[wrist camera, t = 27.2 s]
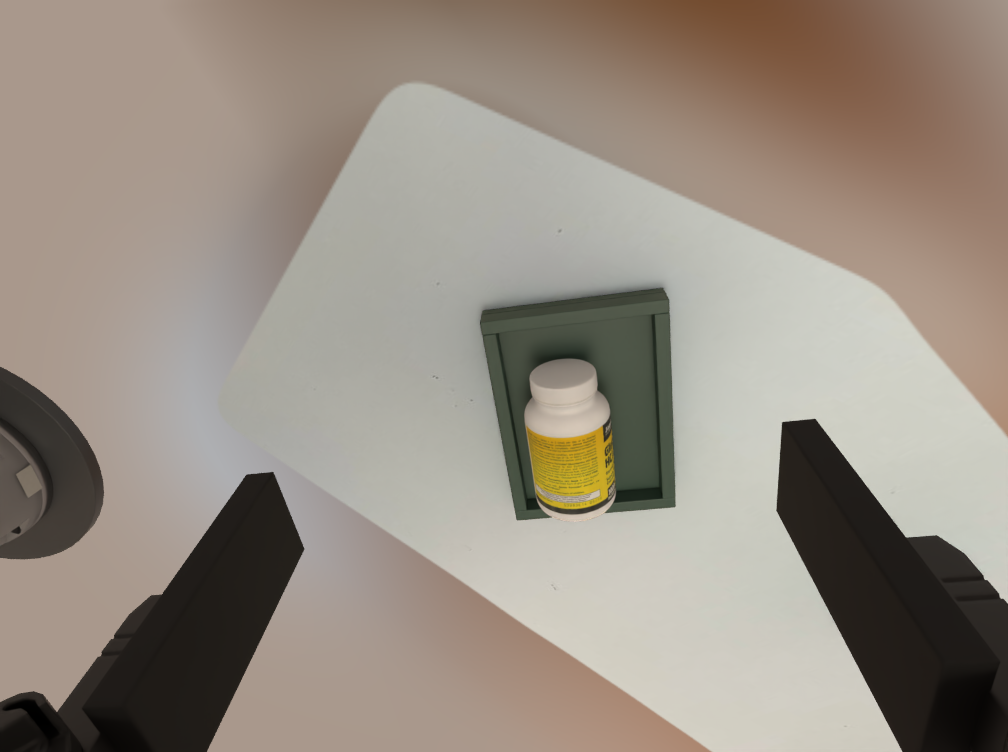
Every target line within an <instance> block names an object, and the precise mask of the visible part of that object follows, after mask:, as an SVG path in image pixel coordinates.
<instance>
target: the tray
mask: <svg viewBox="0 0 1008 752" xmlns="http://www.w3.org/2000/svg"><path fill="white" fill-rule="evenodd" d="M480 325H481V331H482V335H483V341H484V347H485V352H486V357H487V363H488V368H489V373H490V379H491V384H492V390H493V395H494V400H495V406H496V411H497V416H498V422H499V427H500V433H501V438H502V443H503V449H504V454H505V459H506V465H507V470H508V476H509V481H510V486H511V492H512V497H513V502H514V508H515V513H516V519H517V520H528V519H540V518H552V517H551V516H549V515H548V514H546V513H545V512H544V511H543V510H542V509H541V507H540V506H539V504H538V501H537V498H536V492H535V487H534V480H533V473H532V466H531V460H530V453H529V446H528V440H527V433H526V427H525V418H524V413H525V408H526V406H527V404H528V402H529V401H530V399H531V398H532V393H531V388H530V380H529V378H530V374H531V372H532V371H533V370H534V369H535V368H536V367H538V366H539V365H541V364H543V363H546V362H549V361H552V360H557V359H579V360H583V361H586V362H588V363H590V364H592V365H593V366H594V368H595V369H596V374H597V383H598V386H597V391H599V392H600V393H602V394H603V395H604V397H605V398H606V399H607V401H608V404H609V408H610V416H611V425H612V443H613V456H614V470H615V483H616V496H615V499H614V502H613V503H612V505H611V506H610V508H609V509H608V510H607V511H606V512H605V513H611V512H623V511H635V510H647V509H659V508H671V507H675V506H676V505H675V472H674V440H673V408H672V376H671V344H670V313H669V299H668V297H667V295H666V293H665V291H664V289H663V288H659V289H651V290H643V291H635V292H627V293H620V294H612V295H604V296H596V297H588V298H580V299H572V300H564V301H556V302H548V303H540V304H532V305H524V306H516V307H508V308H500V309H493V310H485V311H483V312H482V317H481V321H480Z"/></svg>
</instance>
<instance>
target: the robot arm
mask: <svg viewBox="0 0 1008 752" xmlns="http://www.w3.org/2000/svg"><path fill="white" fill-rule="evenodd" d="M52 498H53V486H52V480H51V477H50V474H49V471H48V469H47V466H46V465H45V463H44V461H43V459H42V458H41V456H40V454H39V453H38V452H37V450H36V449H35V448H34V446H33V445H32V444H31V443H30V442H29V441H28V440H27V439H26V438H25V437H24V436H23V435H22V434H21V433H20V432H19V431H18V430H17V429H15V428H14V427H13V426H12V425H10V424H9V423H8V422H6V421H5V420H3V419H2V418H0V546H1V545H3V544H4V543H7V542H9V541H11V540H13V539H15V538H17V537H19V536H20V535H22V534H23V533H25V532H26V531H27V530H29V529H30V528H31V527H33V526H34V525H35V524H36V523H37V522H38V521H39V520H40V519H41V518H42V517H43V516H44V515H45V514H46V513H47V511H48V509H49V508H50V505H51V502H52ZM776 511H777V512H778V514H779V516H780V518H781V520H782V522H783V524H784V526H785V528H786V530H787V532H788V533H789V535H790V537H791V539H792V541H793V543H794V545H795V547H796V549H797V551H798V553H799V555H800V556H801V558H802V560H803V562H804V564H805V566H806V568H807V570H808V572H809V574H810V576H811V577H812V579H813V581H814V583H815V585H816V587H817V589H818V591H819V593H820V595H821V597H822V599H823V600H824V602H825V604H826V606H827V608H828V610H829V612H830V614H831V616H832V618H833V620H834V621H835V623H836V625H837V627H838V629H839V631H840V633H841V635H842V637H843V639H844V641H845V643H846V644H847V646H848V648H849V650H850V652H851V654H852V656H853V658H854V660H855V662H856V664H857V665H858V667H859V669H860V671H861V673H862V675H863V677H864V679H865V681H866V683H867V685H868V686H869V688H870V690H871V692H872V694H873V696H874V698H875V700H876V702H877V704H878V706H879V708H880V709H881V711H882V713H883V715H884V717H885V719H886V721H887V723H888V725H889V727H890V729H891V730H892V732H893V734H894V736H895V738H896V740H897V742H898V744H899V746H900V748H901V750H902V752H1008V604H1007V603H1006V601H1005V600H1004V599H1001V598H1000V596H999V593H998V592H997V591H996V590H995V589H994V587H993V586H992V585H991V584H990V583H989V582H988V580H984V576H983V575H982V573H981V572H980V571H979V570H978V569H977V568H976V566H975V565H974V564H973V563H972V562H971V561H970V559H969V558H968V557H967V556H966V555H965V554H964V553H963V552H961V551H960V550H958V549H957V548H955V547H954V546H952V545H951V544H949V543H948V542H946V541H945V540H943V539H942V538H940V537H939V536H937V535H936V536H923V537H909V538H906V537H905V536H904V534H903V533H902V532H901V530H900V529H899V528H898V527H897V525H896V524H895V523H894V521H893V520H892V519H891V517H890V516H889V515H888V513H887V512H886V511H885V510H884V508H883V507H882V506H881V504H880V503H879V502H878V500H877V499H876V498H875V496H874V495H873V494H872V493H871V491H870V490H869V489H868V487H867V486H866V485H865V483H864V482H863V481H862V479H861V478H860V477H859V475H858V474H857V473H856V472H855V470H854V469H853V468H852V466H851V465H850V464H849V462H848V461H847V460H846V458H845V457H844V456H843V455H842V453H841V452H840V451H839V449H838V448H837V447H836V445H835V444H834V443H833V441H832V440H831V439H830V438H829V436H828V435H827V434H826V432H825V431H824V430H823V428H822V427H821V426H820V424H819V423H818V422H817V420H816V419H809V420H799V421H789V422H782V434H781V449H780V464H779V479H778V495H777V510H776ZM303 551H304V547H303V544H302V542H301V540H300V537H299V534H298V532H297V530H296V527H295V524H294V522H293V520H292V517H291V515H290V512H289V510H288V507H287V505H286V502H285V500H284V497H283V495H282V492H281V490H280V487H279V485H278V483H277V480H276V478H275V475H274V473H273V472H270V473H259V474H248V475H246V476H245V478H244V479H243V481H242V482H241V484H240V485H239V486H238V488H237V489H236V490H235V492H234V494H233V495H232V496H231V498H230V499H229V500H228V502H227V503H226V505H225V506H224V507H223V509H222V510H221V512H220V513H219V514H218V516H217V517H216V519H215V520H214V522H213V523H212V525H211V526H210V527H209V529H208V530H207V531H206V533H205V534H204V536H203V537H202V539H201V540H200V541H199V543H198V544H197V546H196V547H195V548H194V550H193V551H192V553H191V554H190V556H189V557H188V558H187V560H186V561H185V563H184V564H183V565H182V567H181V568H180V570H179V571H178V572H177V574H176V575H175V577H174V578H173V580H172V581H171V582H170V584H169V585H168V587H167V588H166V590H165V591H164V592H163V594H162V595H152V596H150V597H149V598H148V599H147V600H145V601H144V602H143V603H142V604H141V605H140V606H139V607H137V608H136V609H135V610H134V611H133V612H132V613H130V614H129V616H128V617H127V618H126V620H125V621H124V622H123V624H122V625H121V626H120V628H119V629H118V631H117V632H116V633H115V635H114V639H111V640H110V641H109V643H108V644H107V645H106V647H105V648H104V649H103V651H102V655H101V656H100V657H98V658H97V659H96V660H95V662H94V663H93V664H92V666H91V667H90V669H89V670H88V671H87V672H86V674H85V675H84V677H83V678H82V679H81V681H80V682H79V683H78V685H77V686H76V687H75V689H74V690H73V691H72V693H71V694H70V695H69V697H68V698H67V699H66V701H65V702H64V704H63V705H62V706H61V708H60V709H59V710H58V712H56V711H55V710H54V708H53V707H52V705H51V704H50V703H49V702H48V700H47V699H46V698H45V696H44V695H43V694H40V693H37V692H34V691H33V692H27V693H21V694H18V695H15V696H13V697H11V698H8V699H6V700H4V701H2V702H0V752H207V750H208V748H209V746H210V744H211V742H212V740H213V738H214V736H215V733H216V731H217V729H218V727H219V725H220V723H221V721H222V718H223V717H224V715H225V713H226V711H227V708H228V706H229V704H230V702H231V700H232V698H233V696H234V694H235V692H236V690H237V688H238V686H239V684H240V682H241V680H242V677H243V675H244V673H245V671H246V669H247V667H248V665H249V663H250V661H251V659H252V657H253V655H254V652H255V650H256V648H257V646H258V644H259V642H260V640H261V638H262V636H263V634H264V632H265V630H266V628H267V626H268V623H269V621H270V619H271V617H272V615H273V613H274V611H275V609H276V607H277V605H278V603H279V600H280V599H281V596H282V594H283V592H284V590H285V588H286V586H287V584H288V582H289V580H290V578H291V576H292V574H293V572H294V569H295V567H296V565H297V563H298V561H299V559H300V557H301V555H302V553H303Z"/></svg>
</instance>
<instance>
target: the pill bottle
mask: <svg viewBox="0 0 1008 752" xmlns="http://www.w3.org/2000/svg"><path fill="white" fill-rule="evenodd" d="M529 380H530V388H531V393H532V398H531V399H530V401H529V402H528V404H527V406H526V408H525V413H524V418H525V427H526V433H527V440H528V446H529V453H530V460H531V466H532V473H533V480H534V487H535V492H536V498H537V501H538V504H539V506H540V507H541V509H542V510H543V511H544V512H545V513H546V514H548V515H549V516H551V517H553V518H556V519H559V520H563V521H585V520H589V519H592V518H595V517H598V516H600V515H601V514H603V513H605V512H606V511H607V510H608V509H609V508H610V506H611V505H612V503H613V502H614V499H615V496H616V483H615V470H614V456H613V443H612V425H611V416H610V408H609V404H608V401H607V399H606V398H605V397H604V395H603V394H602V393H600V392H599V391H597V386H598V383H597V374H596V369H595V368H594V366H593V365H592V364H590V363H588V362H586V361H583V360H579V359H557V360H552V361H549V362H546V363H543V364H541V365H539V366H538V367H536V368H535V369H534V370H533V371H532V372H531V374H530V378H529Z"/></svg>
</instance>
